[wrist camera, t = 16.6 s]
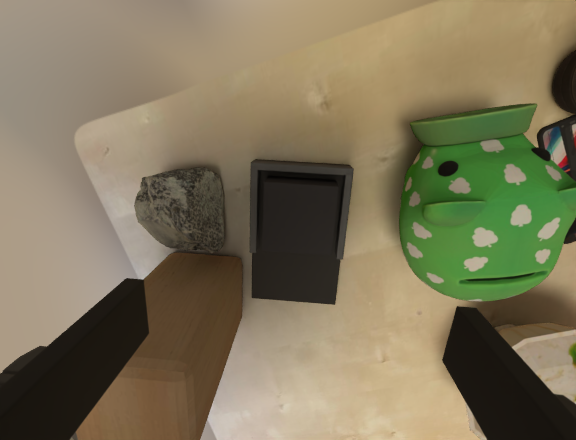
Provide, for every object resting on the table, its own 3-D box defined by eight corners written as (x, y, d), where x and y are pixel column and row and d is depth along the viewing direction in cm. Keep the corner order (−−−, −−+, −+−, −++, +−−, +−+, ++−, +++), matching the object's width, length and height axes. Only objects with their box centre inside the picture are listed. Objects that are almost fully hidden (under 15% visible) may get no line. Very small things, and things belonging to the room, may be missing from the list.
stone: (213, 237, 29) (110, 203, 28) (213, 272, 37) (133, 246, 37) (245, 165, 34) (158, 134, 33) (238, 210, 42) (169, 186, 42)
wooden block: (175, 311, 44) (74, 456, 25) (170, 248, 41) (51, 359, 22) (243, 317, 44) (193, 469, 25) (244, 254, 40) (187, 372, 21)
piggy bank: (509, 102, 33) (664, 88, 19) (501, 254, 38) (617, 333, 24) (376, 125, 34) (424, 128, 20) (386, 267, 40) (430, 349, 25)
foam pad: (266, 237, 38) (261, 250, 35) (268, 175, 36) (263, 181, 32) (329, 242, 38) (331, 255, 34) (336, 179, 36) (339, 186, 32)
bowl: (410, 322, 42) (441, 381, 33) (554, 259, 38) (637, 306, 28) (464, 415, 47) (504, 490, 37) (598, 368, 42) (681, 439, 33)
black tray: (334, 300, 42) (336, 313, 39) (252, 294, 42) (248, 306, 39) (350, 164, 36) (353, 168, 33) (255, 159, 36) (250, 162, 34)
